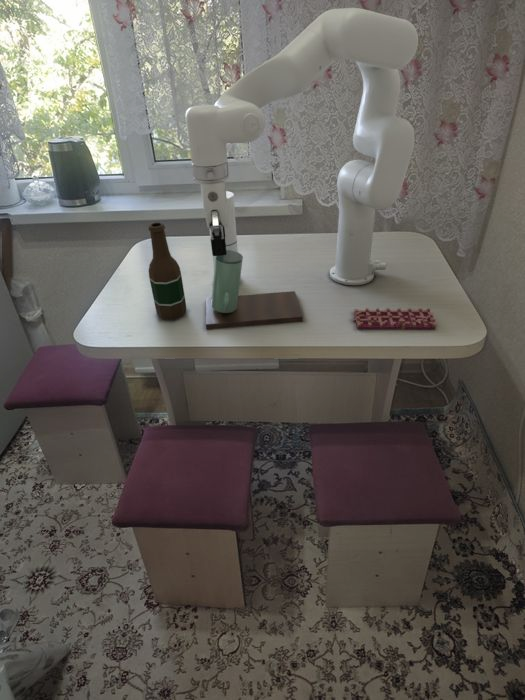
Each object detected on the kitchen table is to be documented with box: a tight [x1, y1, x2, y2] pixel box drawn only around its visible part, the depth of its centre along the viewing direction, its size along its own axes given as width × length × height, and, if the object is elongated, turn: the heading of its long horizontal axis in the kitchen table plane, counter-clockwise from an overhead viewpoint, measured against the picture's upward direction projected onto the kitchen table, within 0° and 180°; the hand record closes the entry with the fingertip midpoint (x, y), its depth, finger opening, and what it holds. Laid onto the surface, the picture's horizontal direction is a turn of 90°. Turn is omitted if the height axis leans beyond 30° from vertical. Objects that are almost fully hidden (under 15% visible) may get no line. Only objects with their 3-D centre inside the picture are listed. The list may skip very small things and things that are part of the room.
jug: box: [211, 250, 244, 313], centre depth 111 cm, size 7×9×14 cm
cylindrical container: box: [208, 190, 239, 268], centre depth 124 cm, size 7×7×25 cm
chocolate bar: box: [352, 307, 437, 330], centre depth 111 cm, size 7×19×2 cm, turn 87°
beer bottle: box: [148, 222, 187, 321], centre depth 111 cm, size 8×8×24 cm
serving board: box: [205, 290, 304, 330], centre depth 117 cm, size 24×13×2 cm, turn 95°
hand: (219, 246), depth 107 cm, fingers open, 9 cm apart
